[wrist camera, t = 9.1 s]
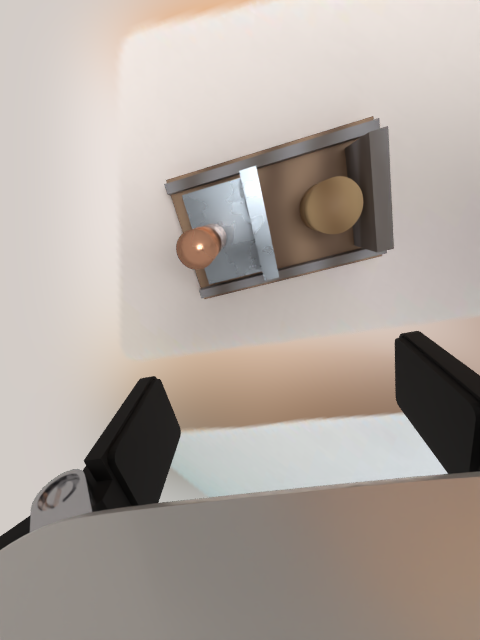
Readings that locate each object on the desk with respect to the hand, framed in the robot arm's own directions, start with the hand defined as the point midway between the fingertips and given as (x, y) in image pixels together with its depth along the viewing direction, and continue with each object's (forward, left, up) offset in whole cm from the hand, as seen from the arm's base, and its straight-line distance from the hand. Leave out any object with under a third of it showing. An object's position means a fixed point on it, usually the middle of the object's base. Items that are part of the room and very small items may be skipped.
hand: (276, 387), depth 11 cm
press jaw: (+2, -5, -23) cm, 24 cm away
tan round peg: (-8, -5, -24) cm, 25 cm away
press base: (-4, -5, -25) cm, 26 cm away
